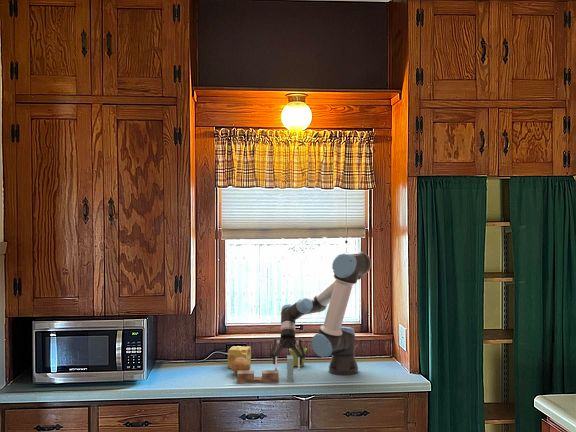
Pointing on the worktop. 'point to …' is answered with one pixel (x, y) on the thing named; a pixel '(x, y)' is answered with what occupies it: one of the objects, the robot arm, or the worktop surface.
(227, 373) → the worktop surface
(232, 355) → the cheese
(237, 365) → the potato
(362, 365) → the worktop surface
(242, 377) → the brown wooden u-shaped block
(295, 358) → the plant pot
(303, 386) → the worktop surface
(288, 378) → the grey upright block
